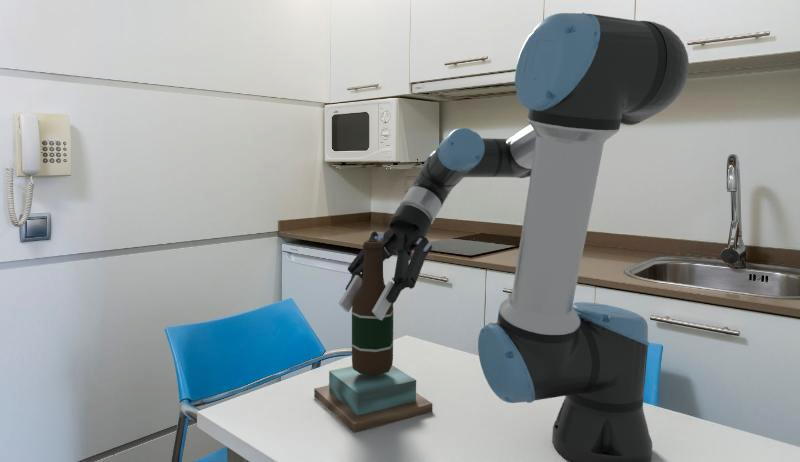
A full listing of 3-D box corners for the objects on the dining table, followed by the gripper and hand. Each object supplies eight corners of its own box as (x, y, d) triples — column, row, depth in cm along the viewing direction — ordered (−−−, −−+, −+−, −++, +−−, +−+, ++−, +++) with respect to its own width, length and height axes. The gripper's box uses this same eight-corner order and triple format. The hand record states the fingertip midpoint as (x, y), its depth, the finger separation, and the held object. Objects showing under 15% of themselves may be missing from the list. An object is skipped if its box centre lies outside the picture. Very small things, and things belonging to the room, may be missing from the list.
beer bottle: (401, 366, 107) (402, 240, 104) (377, 379, 101) (378, 245, 98) (367, 357, 112) (368, 236, 108) (343, 370, 105) (342, 241, 102)
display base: (432, 411, 104) (432, 382, 103) (354, 432, 96) (354, 401, 95) (385, 379, 119) (386, 354, 118) (314, 395, 110) (314, 368, 109)
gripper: (465, 232, 109) (413, 334, 98) (384, 223, 121) (330, 313, 111) (451, 206, 104) (394, 310, 93) (368, 199, 116) (309, 291, 106)
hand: (359, 311), depth 102 cm, fingers closed on beer bottle, 7 cm apart
